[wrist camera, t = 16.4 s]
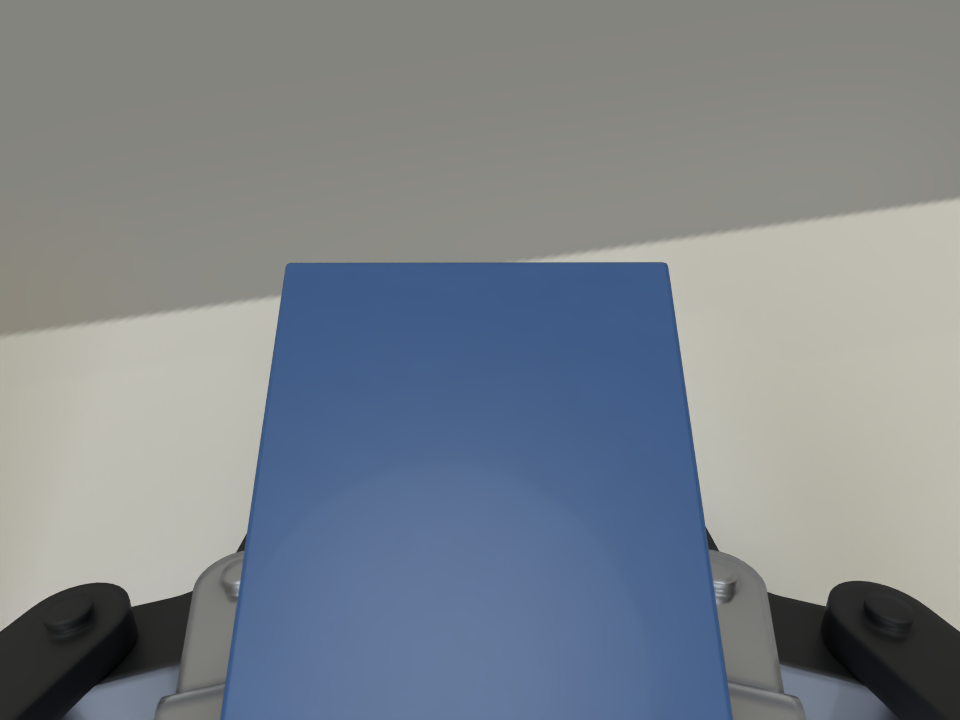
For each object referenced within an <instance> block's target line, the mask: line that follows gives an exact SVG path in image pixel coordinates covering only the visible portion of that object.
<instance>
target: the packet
mask: <svg viewBox="0 0 960 720" xmlns="http://www.w3.org/2000/svg"><path fill="white" fill-rule="evenodd" d="M220 720H733V716H732V709H731V702H730V695H729V688H728V681H727V674H726V667H725V660H724V653H723V647H722V640H721V633H720V626H719V619H718V612H717V605H716V598H715V591H714V584H713V577H712V570H711V563H710V556H709V549H708V542H707V535H706V528H705V521H704V514H703V507H702V500H701V493H700V486H699V479H698V472H697V465H696V458H695V451H694V444H693V437H692V430H691V423H690V416H689V409H688V402H687V395H686V388H685V381H684V374H683V367H682V360H681V353H680V346H679V339H678V332H677V325H676V318H675V311H674V304H673V297H672V290H671V283H670V276H669V269H668V265H667V264H666V263H663V262H603V263H289V264H287V266H286V269H285V275H284V282H283V289H282V296H281V303H280V310H279V317H278V324H277V330H276V337H275V344H274V351H273V358H272V365H271V372H270V379H269V386H268V392H267V399H266V406H265V413H264V420H263V427H262V434H261V441H260V448H259V455H258V461H257V468H256V475H255V482H254V489H253V496H252V503H251V510H250V517H249V524H248V530H247V537H246V544H245V551H244V558H243V565H242V572H241V579H240V586H239V592H238V599H237V606H236V613H235V620H234V627H233V634H232V641H231V648H230V655H229V661H228V668H227V675H226V682H225V689H224V696H223V703H222V710H221V717H220Z"/></svg>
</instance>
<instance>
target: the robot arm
mask: <svg viewBox="0 0 960 720" xmlns="http://www.w3.org/2000/svg"><path fill="white" fill-rule="evenodd" d="M705 528H706V526H705ZM706 535H707V542H708V549H709V556H710V563H711V570H712V577H713V584H714V591H715V598H716V605H717V612H718V619H719V626H720V633H721V640H722V647H723V653H724V660H725V667H726V674H727V681H728V688H729V695H730V702H731V709H732V716H733V720H960V632H959V631H958V630H957V629H955V628H954V627H953V626H951V625H950V624H949V623H947V622H946V621H945V620H944V619H942V618H941V617H940V616H938V615H937V614H936V613H934V612H933V611H932V610H930V609H929V608H928V607H926V606H925V605H924V604H922V603H921V602H919V601H918V600H916V599H914V598H913V597H911V596H909V595H907V594H905V593H903V592H901V591H899V590H896V589H894V588H891V587H888V586H885V585H881V584H878V583H873V582H866V581H850V582H844V583H841V584H838V585H837V586H835V587H834V588H833V589H832V590H831V591H830V594H829V597H828V601H827V604H826V606H821V605H817V604H812V603H808V602H803V601H799V600H795V599H790V598H786V597H782V596H778V595H774V594H772V593H769V592H767V589H766V586H765V583H764V581H763V580H762V578H761V577H760V575H759V574H758V573H757V572H756V571H755V570H754V569H753V568H752V567H750V566H749V565H748V564H746V563H745V562H743V561H741V560H740V559H738V558H736V557H734V556H731V555H729V554H726V553H723V552H719V550H718V548H717V546H716V545H715V543H714V541H713V539H712V537H711V536H710V534H709V532H708V530H707V528H706ZM246 537H247V534H246V536H245V538H244V540H243V541H242V543H241V545H240V547H239V548H238V550H237V552H236V553H234V554H231V555H229V556H226V557H224V558H222V559H220V560H219V561H217V562H215V563H214V564H212V565H211V566H210V567H208V568H207V569H206V570H205V571H204V572H203V573H202V574H201V575H200V577H199V578H198V580H197V581H196V583H195V586H194V589H193V591H191V592H189V593H186V594H183V595H180V596H177V597H173V598H169V599H165V600H160V601H156V602H151V603H147V604H143V605H138V606H134V607H131V603H130V599H129V596H128V594H127V592H126V591H125V590H124V589H123V588H121V587H120V586H117V585H114V584H110V583H90V584H84V585H79V586H76V587H72V588H69V589H66V590H64V591H61V592H58V593H56V594H54V595H52V596H50V597H48V598H46V599H45V600H43V601H41V602H40V603H38V604H37V605H35V606H34V607H32V608H31V609H30V610H28V611H27V612H26V613H24V614H23V615H22V616H20V617H19V618H18V619H16V620H15V621H14V622H13V623H11V624H10V625H9V626H7V627H6V628H5V629H3V630H2V631H1V632H0V720H220V717H221V710H222V703H223V696H224V689H225V682H226V675H227V668H228V661H229V655H230V648H231V641H232V634H233V627H234V620H235V613H236V606H237V599H238V592H239V586H240V579H241V572H242V565H243V558H244V551H245V544H246Z"/></svg>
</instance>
